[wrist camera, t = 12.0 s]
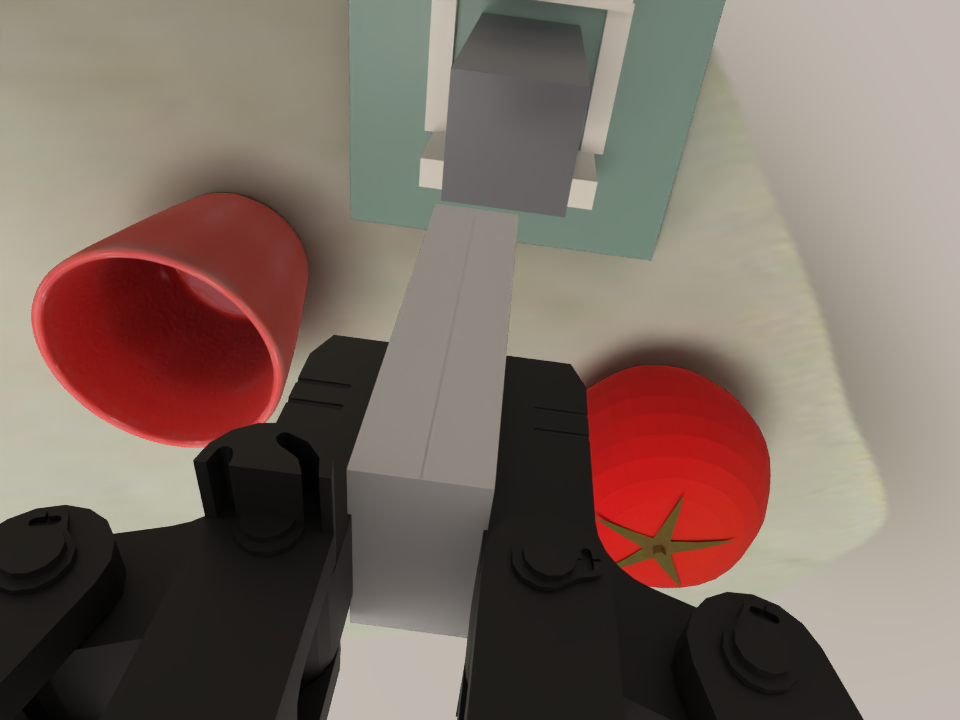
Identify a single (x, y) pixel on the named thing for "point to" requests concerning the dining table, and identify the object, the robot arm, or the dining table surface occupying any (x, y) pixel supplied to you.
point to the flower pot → (178, 320)
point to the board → (606, 127)
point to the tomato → (674, 474)
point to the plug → (515, 115)
